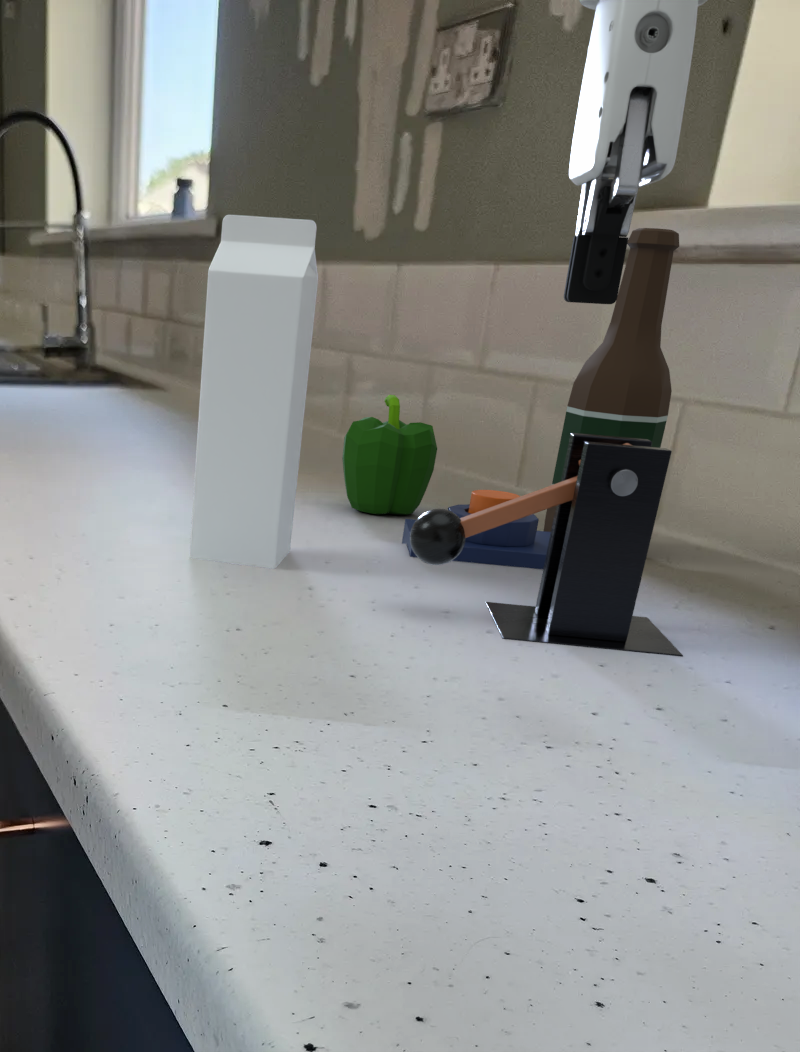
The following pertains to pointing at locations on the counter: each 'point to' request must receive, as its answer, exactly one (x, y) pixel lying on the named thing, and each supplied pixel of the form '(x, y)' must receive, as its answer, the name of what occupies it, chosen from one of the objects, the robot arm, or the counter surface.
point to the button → (488, 499)
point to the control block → (499, 542)
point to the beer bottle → (627, 357)
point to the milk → (253, 389)
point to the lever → (479, 522)
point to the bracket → (597, 552)
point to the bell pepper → (388, 463)
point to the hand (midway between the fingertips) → (589, 302)
